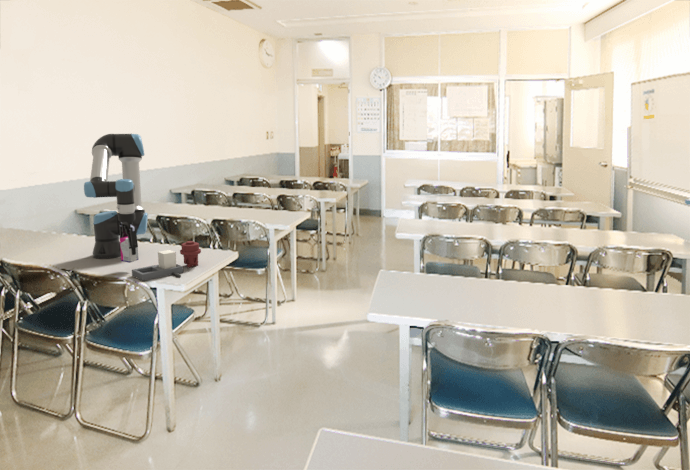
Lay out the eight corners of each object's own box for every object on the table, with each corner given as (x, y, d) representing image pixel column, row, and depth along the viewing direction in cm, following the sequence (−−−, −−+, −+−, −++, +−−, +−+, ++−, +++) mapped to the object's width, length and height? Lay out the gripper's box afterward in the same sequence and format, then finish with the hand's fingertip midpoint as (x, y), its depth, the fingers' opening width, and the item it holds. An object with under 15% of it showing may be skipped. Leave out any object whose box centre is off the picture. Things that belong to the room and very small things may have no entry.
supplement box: (139, 259, 256) (137, 236, 253) (129, 262, 251) (127, 239, 248) (130, 258, 259) (128, 235, 256) (120, 261, 253) (118, 237, 251)
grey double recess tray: (132, 275, 247) (130, 255, 245) (172, 267, 261) (171, 248, 259) (149, 284, 235) (147, 262, 233) (190, 275, 249) (189, 254, 247)
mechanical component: (205, 263, 269) (195, 269, 260) (186, 262, 271) (177, 267, 262) (203, 240, 267) (194, 244, 257) (185, 239, 269) (175, 243, 259)
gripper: (109, 210, 253) (113, 256, 259) (127, 216, 240) (131, 265, 245) (125, 208, 258) (128, 253, 264) (143, 214, 245) (146, 262, 250)
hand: (130, 259), depth 255 cm, fingers closed on supplement box, 7 cm apart
